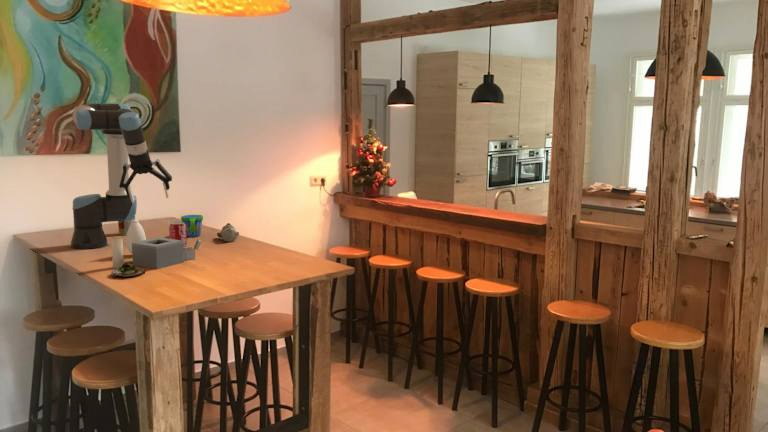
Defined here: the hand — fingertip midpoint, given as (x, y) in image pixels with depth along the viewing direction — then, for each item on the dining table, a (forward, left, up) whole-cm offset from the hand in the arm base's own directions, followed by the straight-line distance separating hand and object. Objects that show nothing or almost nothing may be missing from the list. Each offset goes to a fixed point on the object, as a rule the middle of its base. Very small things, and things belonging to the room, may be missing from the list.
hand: (150, 198), depth 248 cm
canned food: (-56, +33, -26) cm, 70 cm away
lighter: (+12, +11, -26) cm, 31 cm away
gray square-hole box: (+6, -2, -26) cm, 27 cm away
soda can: (-4, +18, -26) cm, 32 cm away
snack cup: (-25, +47, -26) cm, 59 cm away
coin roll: (-2, -15, -26) cm, 30 cm away
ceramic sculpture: (-3, +49, -26) cm, 56 cm away
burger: (+11, -21, -26) cm, 35 cm away
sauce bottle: (-13, +3, -26) cm, 29 cm away
